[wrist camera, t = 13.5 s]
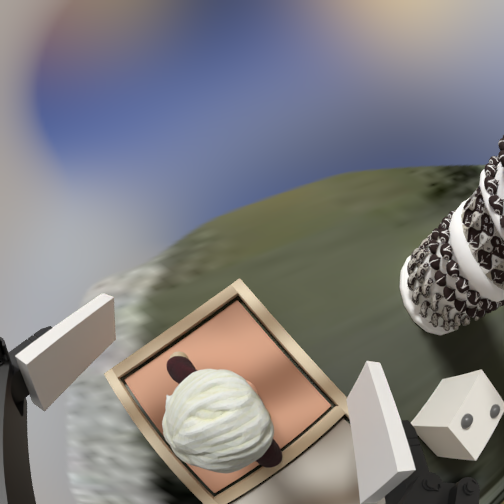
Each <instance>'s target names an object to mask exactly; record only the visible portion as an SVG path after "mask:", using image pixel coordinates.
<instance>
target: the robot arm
mask: <svg viewBox="0 0 504 504" xmlns="http://www.w3.org/2000/svg"><path fill="white" fill-rule="evenodd" d="M115 340H116V336H115V317H114V297H112V296H109V295H107V294H104V293H102V294H101V295H99V296H98V297H96V298H95V299H93V300H92V301H90V302H89V303H87V304H86V305H84V306H83V307H82V308H80V309H79V310H77V311H76V312H74V313H73V314H71V315H70V316H69V317H67V318H66V319H64V320H63V321H62V322H60V323H59V324H57V325H56V326H55V327H51V326H49V327H46V328H43V329H41V330H39V331H38V332H36V333H35V334H34V336H31V337H30V338H28V340H25V341H24V342H22V343H21V344H20V345H18V346H17V347H16V348H14V349H13V350H12V351H10V352H9V353H8V351H7V348H6V344H5V341H4V340H3V338H1V337H0V504H36V502H35V497H34V491H33V486H32V479H31V472H30V464H29V453H28V438H27V400H26V397H27V396H28V395H30V397H31V399H32V402H33V403H34V404H35V405H37V406H38V407H39V408H41V409H42V410H43V411H46V409H47V408H48V407H49V406H50V405H51V404H52V403H53V402H54V401H55V400H56V399H57V398H58V397H59V396H60V395H61V394H62V393H63V392H64V391H65V390H66V389H67V388H68V387H69V386H70V385H71V384H72V383H73V382H74V381H75V380H76V378H77V377H78V376H79V375H80V374H81V373H82V372H83V371H84V370H85V369H86V368H87V367H88V366H89V365H90V364H91V363H92V362H93V361H94V360H95V359H96V358H97V357H98V356H99V355H100V354H101V353H102V352H103V351H104V350H105V349H106V348H108V347H109V346H110V345H111V344H112V343H113V342H114V341H115ZM346 401H347V406H348V412H349V419H350V425H351V432H352V438H353V446H354V453H355V461H356V469H357V478H358V487H359V497H360V504H369V503H377V502H379V501H380V500H381V499H382V498H384V497H385V502H386V503H385V504H479V494H480V488H479V485H478V483H477V481H476V480H475V479H473V478H471V477H465V478H462V479H461V480H460V481H459V482H458V483H456V484H454V483H446V482H442V480H441V479H440V477H439V476H438V475H436V474H435V473H432V472H429V470H428V466H427V463H426V460H425V457H424V454H423V451H422V448H421V446H420V442H419V439H418V436H417V433H416V430H415V428H414V427H413V426H412V424H411V423H410V422H409V421H408V420H401V419H400V416H399V414H398V411H397V408H396V405H395V402H394V399H393V396H392V393H391V391H390V388H389V385H388V383H387V380H386V377H385V375H384V372H383V369H382V367H381V364H380V363H378V362H371V361H366V363H365V365H364V367H363V369H362V371H361V373H360V375H359V377H358V379H357V381H356V383H355V385H354V387H353V388H352V390H351V392H350V394H349V396H348V397H347V399H346Z"/></svg>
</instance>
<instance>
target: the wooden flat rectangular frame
mask: <svg viewBox="0 0 504 504" xmlns="http://www.w3.org/2000/svg"><path fill="white" fill-rule="evenodd" d="M236 296H239V297H240V298H241V299H242V301H243V302H244V303H245V304H246V305H247V307H248V308H249V309H250V310H251V311H252V312H253V314H254V315H255V316H256V317H257V318H258V319H259V321H260V322H261V323H262V324H263V325H264V326H265V327H266V329H267V330H268V331H269V332H270V333H271V334H272V335H273V337H274V338H275V339H276V340H277V341H278V342H279V343H280V345H281V346H282V347H283V348H284V349H285V350H286V351H287V352H288V354H289V355H290V356H291V357H292V358H293V359H294V360H295V361H296V363H297V364H298V365H299V366H300V367H301V368H302V369H303V370H304V371H305V372H306V374H307V375H308V376H309V377H310V378H311V379H312V380H313V381H314V382H315V383H316V384H317V386H318V387H319V388H320V389H321V390H322V391H323V392H324V393H325V394H326V395H327V396H328V397H329V398H330V399H331V401H332V402H333V403H334V404H335V405H336V406H335V407H334V408H333V409H332V410H331V411H330V412H329V413H328V414H327V415H325V416H324V417H323V418H322V419H321V420H320V421H319V422H318V423H317V424H315V425H314V426H313V427H312V428H311V429H310V430H308V431H307V432H306V433H305V434H304V435H303V436H301V437H300V438H299V439H298V440H296V441H295V442H294V443H293V444H291V445H290V446H289V447H288V448H286V449H285V450H284V451H283V452H282V455H283V457H284V462H283V464H282V466H281V467H279V468H277V469H270V468H266V467H263V466H262V467H261V468H259V469H258V470H256V471H255V472H253V473H252V474H250V475H249V476H247V477H246V478H244V479H243V480H241V481H240V482H238V483H237V484H235V485H233V486H232V487H230V488H228V489H227V490H225V491H223V492H222V493H220V494H218V495H217V496H215V497H214V496H213V495H212V494H211V493H210V492H209V491H208V490H207V489H206V488H205V487H204V486H203V485H202V484H201V483H200V482H199V481H198V480H197V479H196V478H195V477H194V476H193V475H192V473H191V472H190V471H189V470H188V469H187V468H186V467H185V466H184V465H183V463H182V462H181V461H180V460H179V459H178V458H177V456H176V455H175V454H174V453H173V452H172V450H171V449H170V448H169V447H168V446H167V444H166V443H165V442H164V441H163V439H162V438H161V437H160V435H159V434H158V433H157V432H156V430H155V429H154V428H153V426H152V425H151V423H150V422H149V421H148V419H147V418H146V417H145V415H144V414H143V412H142V411H141V409H140V408H139V407H138V405H137V404H136V402H135V401H134V399H133V398H132V396H131V395H130V393H129V391H128V390H127V388H126V387H125V385H124V383H123V382H122V380H121V379H120V378H122V377H123V376H125V375H126V374H128V373H129V372H130V371H132V370H133V369H135V368H136V367H138V366H139V365H141V364H142V363H144V362H145V361H147V360H148V359H149V358H151V357H152V356H154V355H155V354H157V353H158V352H160V351H161V350H162V349H164V348H165V347H167V346H168V345H170V344H171V343H172V342H174V341H175V340H177V339H178V338H180V337H181V336H182V335H184V334H185V333H187V332H188V331H189V330H191V329H192V328H194V327H195V326H196V325H198V324H199V323H201V322H202V321H203V320H205V319H206V318H208V317H209V316H210V315H212V314H213V313H215V312H216V311H217V310H219V309H220V308H221V307H223V306H224V305H226V304H227V303H228V302H230V301H231V300H232V299H234V298H235V297H236ZM179 351H180V352H183V353H185V354H186V355H187V356H188V358H189V360H190V361H191V362H192V364H193V365H194V367H195V369H196V370H197V371H198V370H203V369H215V370H220V369H222V370H230V371H232V372H234V373H236V374H238V375H240V376H241V377H243V378H244V379H245V380H247V381H249V382H251V383H252V384H253V385H254V386H255V388H256V390H257V393H258V395H259V397H260V398H261V400H262V401H263V403H264V406H265V408H266V409H267V410H268V411H269V413H270V415H271V421H272V423H273V426H274V436H273V439H274V440H275V441H276V443H277V444H278V445H279V447H280V449H281V448H282V447H284V446H285V445H286V444H287V443H289V442H290V441H291V440H293V439H294V438H295V437H296V436H297V435H299V434H300V433H301V432H302V431H303V430H305V429H306V428H307V427H308V426H309V425H310V424H312V423H313V422H314V421H315V420H316V419H317V418H318V417H320V416H321V415H322V414H323V413H324V412H325V411H326V410H327V409H328V408H329V407H330V406H331V405H330V404H329V403H328V402H327V400H326V399H325V398H324V397H323V396H322V395H321V394H320V393H319V392H318V391H317V390H316V389H315V388H314V386H313V385H312V384H311V383H310V382H309V381H308V380H307V379H306V378H305V377H304V376H303V374H302V373H301V372H300V371H299V370H298V369H297V368H296V367H295V366H294V365H293V363H292V362H291V361H290V360H289V359H288V358H287V357H286V356H285V354H284V353H283V352H282V351H281V350H280V349H279V348H278V347H277V345H276V344H275V343H274V342H273V341H272V340H271V339H270V337H269V336H268V335H267V334H266V333H265V332H264V331H263V329H262V328H261V327H260V326H259V325H258V324H257V322H256V321H255V320H254V319H253V318H252V317H251V315H250V314H249V313H248V312H247V311H246V309H245V308H244V307H243V306H242V305H241V304H240V302H239V301H238V300H236V301H235V302H234V303H232V304H231V305H230V306H228V307H227V308H225V309H224V310H223V311H221V312H220V313H219V314H217V315H216V316H214V317H213V318H212V319H210V320H209V321H208V322H206V323H205V324H203V325H202V326H201V327H199V328H198V329H196V330H195V331H194V332H192V333H191V334H189V335H188V336H187V337H185V338H184V339H182V340H181V341H180V342H178V343H177V344H175V345H174V346H172V347H171V348H170V349H168V350H167V351H165V352H164V353H162V354H161V355H160V356H158V357H157V358H155V359H154V360H152V361H151V362H149V363H148V364H146V365H145V366H144V367H142V368H141V369H139V370H138V371H136V372H135V373H133V374H132V375H130V376H129V377H127V378H126V379H124V380H125V381H126V383H127V385H128V386H129V388H130V389H131V391H132V392H133V394H134V395H135V397H136V398H137V400H138V401H139V403H140V404H141V406H142V407H143V409H144V410H145V412H146V413H147V414H148V416H149V417H150V419H151V420H152V421H153V423H154V424H155V425H156V427H157V428H158V429H159V431H160V432H161V433H162V435H163V436H164V434H163V427H162V421H163V417H164V414H165V411H166V407H165V406H166V395H169V396H171V395H172V394H173V392H174V390H175V389H176V387H177V386H178V385H179V384H178V383H177V382H176V381H174V380H173V379H172V378H171V376H170V375H169V373H168V371H167V361H168V360H169V358H170V356H171V355H172V354H173V353H175V352H179ZM104 375H105V377H106V378H107V380H108V382H109V383H110V385H111V387H112V388H113V390H114V392H115V393H116V395H117V397H118V398H119V400H120V401H121V403H122V405H123V406H124V408H125V409H126V411H127V412H128V414H129V415H130V417H131V418H132V420H133V421H134V422H135V424H136V425H137V427H138V428H139V429H140V431H141V432H142V434H143V435H144V436H145V438H146V439H147V440H148V442H149V443H150V444H151V445H152V447H153V448H154V449H155V451H156V452H157V453H158V454H159V456H160V457H161V458H162V459H163V460H164V462H165V463H166V464H167V465H168V466H169V468H170V469H171V470H172V471H173V472H174V473H175V474H176V476H177V477H178V478H179V479H180V480H181V481H182V482H183V483H184V484H185V485H186V486H187V487H188V489H189V490H190V491H191V492H192V493H193V494H194V495H195V496H196V497H197V498H198V499H199V500H200V501H201V502H202V503H203V504H227V503H229V502H231V501H232V500H234V499H236V498H237V497H239V496H241V495H242V494H244V493H246V492H247V491H249V490H250V489H252V488H253V487H255V486H256V485H258V484H259V483H261V482H262V481H264V480H265V479H267V478H268V477H270V476H271V475H272V474H274V473H275V472H277V471H278V470H279V469H281V468H282V467H283V466H285V465H286V464H287V463H289V462H290V461H291V460H293V459H294V458H295V457H297V456H298V455H299V454H300V453H302V452H303V451H304V450H305V449H306V448H308V447H309V446H310V445H311V444H312V443H314V442H315V441H316V440H317V439H318V438H319V437H321V436H322V435H323V434H324V433H325V432H326V431H327V430H328V429H329V428H331V427H332V426H333V425H334V424H335V423H336V422H337V421H338V420H339V419H340V418H341V417H342V416H343V415H344V414H345V415H346V416H347V417H348V418H349V412H348V406H347V401H346V399H347V397H346V396H345V395H344V394H343V393H342V392H341V391H340V390H339V389H338V388H337V387H336V386H335V384H334V383H333V382H332V381H331V380H330V379H329V378H328V377H327V376H326V375H325V374H324V373H323V371H322V370H321V369H320V368H319V367H318V366H317V365H316V364H315V363H314V362H313V361H312V359H311V358H310V357H309V356H308V355H307V354H306V353H305V352H304V351H303V349H302V348H301V347H300V346H299V345H298V344H297V343H296V342H295V341H294V339H293V338H292V337H291V336H290V335H289V334H288V333H287V332H286V331H285V329H284V328H283V327H282V326H281V325H280V324H279V323H278V322H277V320H276V319H275V318H274V317H273V316H272V315H271V314H270V312H269V311H268V310H267V309H266V308H265V307H264V306H263V305H262V303H261V302H260V301H259V300H258V299H257V298H256V297H255V295H254V294H253V293H252V292H251V291H250V290H249V288H248V287H247V286H246V285H245V284H244V283H243V282H242V280H241V279H238V280H237V281H235V282H234V283H233V284H231V285H230V286H228V287H227V288H226V289H224V290H223V291H221V292H220V293H219V294H217V295H216V296H214V297H213V298H212V299H210V300H209V301H207V302H206V303H205V304H203V305H202V306H200V307H199V308H198V309H196V310H195V311H193V312H192V313H191V314H189V315H188V316H186V317H185V318H183V319H182V320H181V321H179V322H178V323H176V324H175V325H174V326H172V327H171V328H169V329H168V330H166V331H165V332H164V333H162V334H161V335H159V336H158V337H156V338H155V339H154V340H152V341H151V342H149V343H148V344H146V345H145V346H143V347H142V348H141V349H139V350H138V351H136V352H135V353H133V354H132V355H130V356H129V357H128V358H126V359H125V360H123V361H122V362H120V363H119V364H117V365H116V366H114V367H113V368H112V369H110V370H109V371H107V372H106V373H104ZM186 464H187V465H188V466H189V467H190V468H191V469H192V470H193V471H194V472H195V474H196V475H197V476H198V477H199V478H200V479H201V480H202V481H203V482H204V483H205V484H206V485H207V486H208V487H209V488H210V489H211V490H212V491H213V492H214V493H215V492H217V491H219V490H221V489H222V488H224V487H226V486H227V485H229V484H230V483H232V482H234V481H235V480H237V479H238V478H240V477H242V476H243V475H245V474H246V473H248V472H249V471H251V470H252V469H254V468H255V467H256V466H258V465H259V463H258V462H256V461H254V462H253V463H251V464H249V465H248V466H246V467H244V468H242V469H241V470H238V471H235V472H232V473H226V474H225V473H217V472H213V471H210V470H206V469H203V468H200V467H197V466H193V465H190V464H188V463H186ZM385 503H386V502H385V497H384V498H382V499H381V500H380V501H379V502H377V503H369V504H385ZM230 504H360V497H359V487H358V478H357V469H356V461H355V453H354V446H353V438H352V432H351V426H350V425H349V423H348V422H347V421H346V420H345V419H344V418H342V419H341V420H340V421H339V422H338V423H337V424H336V425H335V426H334V427H333V428H332V429H330V430H329V431H328V432H327V433H326V434H325V435H324V436H323V437H322V438H320V439H319V440H318V441H317V442H316V443H315V444H313V445H312V446H311V447H310V448H309V449H307V450H306V451H305V452H304V453H303V454H301V455H300V456H299V457H298V458H296V459H295V460H294V461H292V462H291V463H290V464H289V465H287V466H286V467H285V468H283V469H282V470H280V471H279V472H278V473H276V474H275V475H274V476H272V477H271V478H269V479H268V480H266V481H265V482H263V483H262V484H260V485H259V486H257V487H256V488H254V489H253V490H251V491H250V492H248V493H247V494H245V495H243V496H242V497H240V498H238V499H237V500H235V501H233V502H232V503H230Z"/></svg>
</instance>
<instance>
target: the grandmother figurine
mask: <svg viewBox="0 0 504 504" xmlns="http://www.w3.org/2000/svg"><path fill="white" fill-rule="evenodd" d="M167 371H168V373H169V375H170V376H171V378H172V379H173V380H174V381H176V382H177V383H178V384H179V385H178V386H177V387H176V389H175V390H174V392H173V394H172V395H171V396H169V395H166V406H165V407H166V411H165V414H164V417H163V421H162V427H163V434H164V437H165V440H166V441H167V442H168V444H169V445H170V446H171V448H172V450H173V452H174V453H175V455H176V456H178V457H179V458H180V459H181V460H182V461H183V462H186V463H188V464H190V465H193V466H197V467H200V468H203V469H206V470H210V471H213V472H217V473H225V474H226V473H232V472H235V471H238V470H241V469H242V468H244V467H246V466H248V465H249V464H251V463H253V462H254V461H256V462H258V463H259V464H260V465H262V466H263V467H266V468H270V469H277V468H279V467H281V466H282V464H283V462H284V457H283V455H282V452H281V449H280V447H279V445H278V444H277V443H276V441H275V440H274V439H273V436H274V426H273V423H272V421H271V415H270V413H269V411H268V410H267V409H266V408H265V406H264V403H263V401H262V400H261V398H260V397H259V395H258V393H257V390H256V388H255V386H254V385H253V384H252V383H251V382H249V381H247V380H245V379H244V378H243V377H241V376H240V375H238V374H236V373H234V372H232V371H230V370H222V369H220V370H215V369H203V370H198V371H197V370H196V369H195V367H194V365H193V364H192V362H191V361H190V360H189V358H188V356H187V355H186V354H185V353H183V352H180V351H179V352H175V353H173V354H172V355H171V356H170V358H169V360H168V361H167Z"/></svg>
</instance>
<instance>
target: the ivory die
mask: <svg viewBox="0 0 504 504" xmlns="http://www.w3.org/2000/svg"><path fill="white" fill-rule="evenodd" d="M503 412H504V401H503V400H502V398H501V397H500V395H499V394H498V392H497V391H496V389H495V388H494V386H493V385H492V383H491V382H490V380H489V379H488V378H487V376H486V375H485V373H484V372H483V371H482V369H481V370H477V371H474V372H470V373H466V374H462V375H458V376H454V377H450V378H446V379H442V380H441V382H440V384H439V385H438V387H437V388H436V389H435V391H434V392H433V394H432V395H431V397H430V398H429V399H428V401H427V402H426V404H425V405H424V406H423V408H422V409H421V410H420V412H419V413H418V414H417V416H416V417H415V418H414V419H413V421H412V422H411V424H412V426H413V427H414V428H415V430H416V433H417V435H418V436H419V437H420V438H421V439H422V440H423V441H424V443H425V444H426V445H427V446H428V447H429V448H430V449H431V450H432V451H433V452H434V453H435V454H436V455H437V456H439V457H446V458H453V459H462V460H473V461H476V460H477V458H478V457H479V455H480V453H481V452H482V450H483V449H484V447H485V445H486V444H487V442H488V440H489V439H490V437H491V435H492V433H493V431H494V430H495V428H496V426H497V424H498V422H499V420H500V418H501V416H502V414H503Z"/></svg>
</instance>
